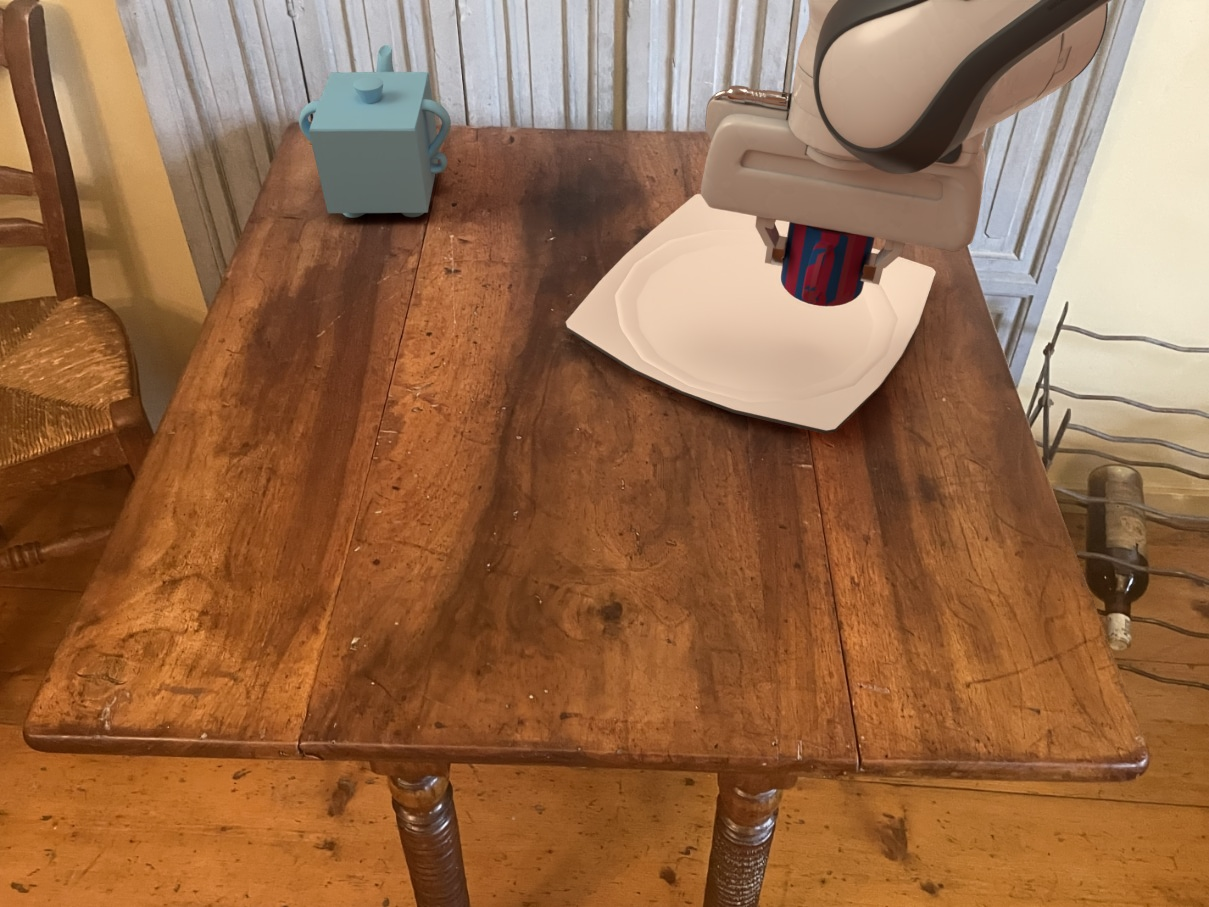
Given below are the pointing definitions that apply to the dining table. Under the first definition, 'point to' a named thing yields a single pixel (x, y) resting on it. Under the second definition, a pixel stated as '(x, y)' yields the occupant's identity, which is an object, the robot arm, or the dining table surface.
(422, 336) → the dining table surface
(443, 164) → the teapot
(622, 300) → the plate
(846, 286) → the mug
